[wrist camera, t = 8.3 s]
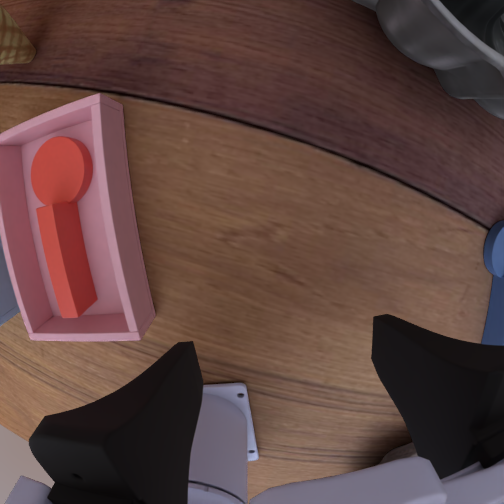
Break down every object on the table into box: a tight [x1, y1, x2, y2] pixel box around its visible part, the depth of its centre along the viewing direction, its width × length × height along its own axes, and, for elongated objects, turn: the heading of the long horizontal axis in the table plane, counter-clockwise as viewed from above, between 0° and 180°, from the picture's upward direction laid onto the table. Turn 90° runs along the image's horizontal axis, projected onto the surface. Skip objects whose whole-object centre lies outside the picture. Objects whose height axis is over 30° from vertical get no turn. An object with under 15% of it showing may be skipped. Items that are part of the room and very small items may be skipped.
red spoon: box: [31, 136, 98, 318], centre depth 17 cm, size 11×5×3 cm, turn 7°
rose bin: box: [0, 93, 156, 341], centre depth 17 cm, size 14×9×4 cm, turn 7°
